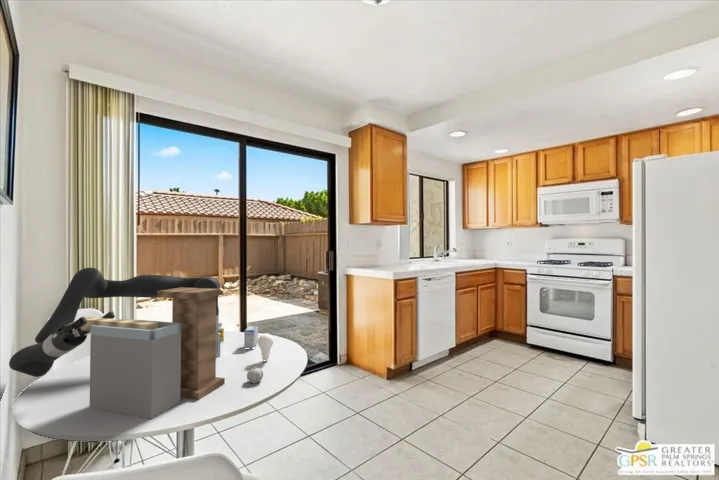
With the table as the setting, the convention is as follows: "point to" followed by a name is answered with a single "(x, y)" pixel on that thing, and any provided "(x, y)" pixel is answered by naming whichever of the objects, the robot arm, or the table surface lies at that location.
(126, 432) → the table surface
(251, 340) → the medicine box
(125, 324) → the tan wooden bar
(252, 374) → the garlic
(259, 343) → the lightbulb
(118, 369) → the tray stand
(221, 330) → the supplement bottle
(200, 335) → the post
